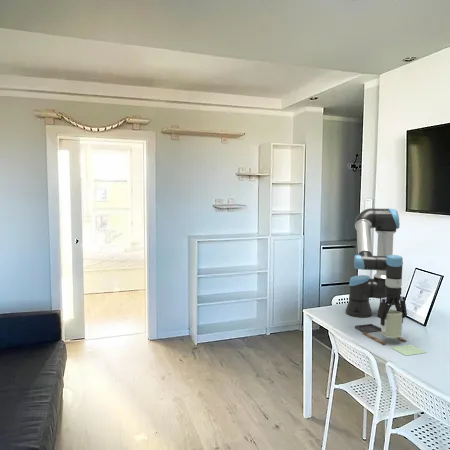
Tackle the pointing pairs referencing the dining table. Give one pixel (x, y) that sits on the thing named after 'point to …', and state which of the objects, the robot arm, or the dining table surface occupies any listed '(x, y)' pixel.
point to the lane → (380, 340)
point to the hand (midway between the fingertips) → (391, 330)
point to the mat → (408, 350)
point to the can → (393, 324)
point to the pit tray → (368, 328)
